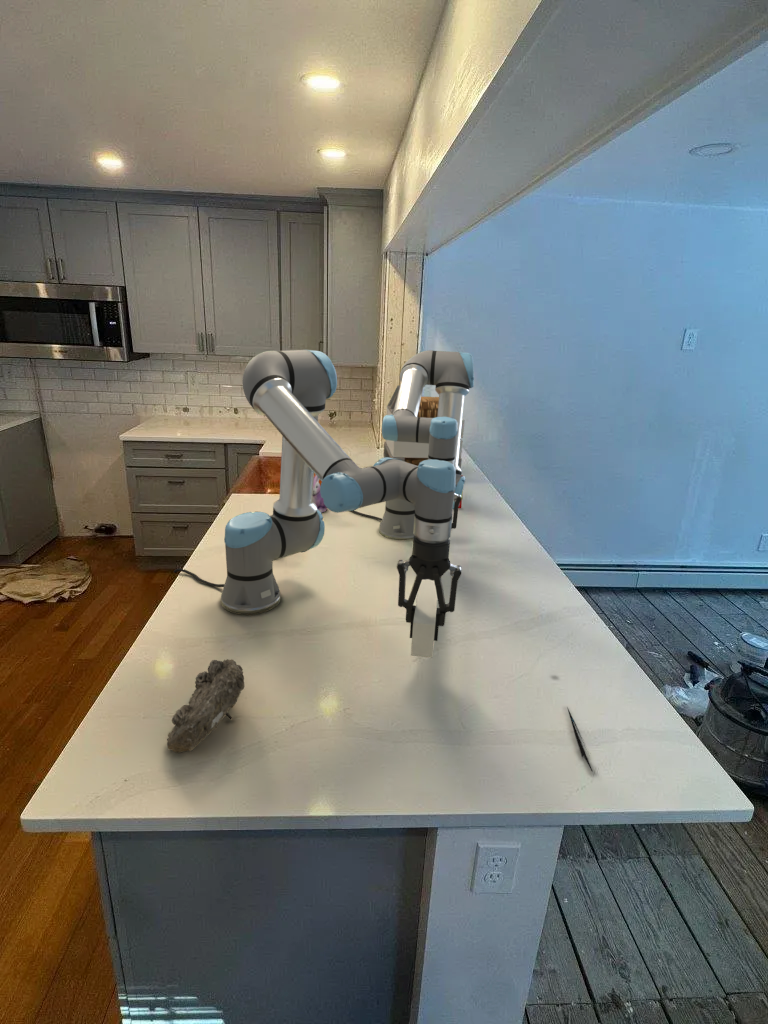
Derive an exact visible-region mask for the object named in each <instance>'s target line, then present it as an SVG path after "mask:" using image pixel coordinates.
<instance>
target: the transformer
mask: <svg viewBox="0 0 768 1024" xmlns="http://www.w3.org/2000/svg"><path fill="white" fill-rule="evenodd" d="M399 388H400V384H398V385H397V386H396V388H395V390H394V392H393V394H392V395H391V398H390V400H389V402H388V404H387V405H386V413H385V414H386V415H392V414H393V410H394V407H395V403H396V399H397V395H398V392H399ZM438 403H439V396H421V400H420V405H419V410H418V415H417V417H424V418H436V417H437V414H438ZM386 415H385V416H386ZM464 429H465V419H464V418H462V426H461V437H460V448H459V459H458V467H459V468H460V469H461V470H462V461H463V460H462V453H463V442H464V441H463V440H462V439H463V438H464V431H465V430H464ZM428 454H429V444H428V443H417V442H400V441H396V442H395V441H391V440H385V439H384V442H383V458H384V457H389V458H396V459H399V460H402V461H404V462H407V463H410V464H413V465H416V466H418V465H419V463H420V462H422V461H424V460H428Z"/></svg>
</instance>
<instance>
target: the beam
mask: <svg viewBox="0 0 768 1024" xmlns="http://www.w3.org/2000/svg"><path fill="white" fill-rule="evenodd" d="M415 601H416V602H415V606H416V608H415V614H414V620H413V632H412V638H411V647H410V657H411V656H412V657H418V658H419V657H421V658H429V659H433V657H434V644H435V641H434V634H435V622H436V610H437V608H438V598H437V593H436V587H435V583H434V581H432V580H429V579H426V580H422V581H421V584H420V587H419V590H418V593H417V595H416V600H415Z"/></svg>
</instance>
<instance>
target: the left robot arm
mask: <svg viewBox="0 0 768 1024" xmlns="http://www.w3.org/2000/svg"><path fill="white" fill-rule="evenodd" d="M241 383H242V390H243V393H244V396H245V399H246V400H247V402H248V404H249V405H250V406H251V408H252V409H253V410H254V412H256V413H257V414H258V415H259V416H263V417H266V418H267V419H268V420H269V422H270V424H272V425H273V426H274V428H275V429H276V430H277V431H278V432H279V434H281V437H282V438H281V440H282V441H281V456H280V457H281V459H280V476H279V477H280V478H279V479H280V480H279V498H278V500H276V501H275V502H273V506H272V514H269V513H268V512H264V511H254V512H252V511H248V512H243V513H240V514H238V515H235V516H233V517H232V518H231V519H229V520H228V522H227V523H226V525H225V527H224V540H223V541H224V547H225V561H226V578H225V581H224V583H213V582H210V581H207V580H205V579H202V578H201V577H200V576H199V575H197V574H196V573H193V572H191V571H190V570H187V569H184V568H181V567H180V568H179V567H178V568H176V569H175V570H173V573H175V574H177V573H178V572H183V573H185V574H186V575H188V576H189V575H190V576H191V577H193V578H194V579H195V580H196V581H198V582H200V583H202V584H204V585H207V586H211V587H214V588H223V589H222V592H221V594H220V603H221V606H222V607H223V609H224V610H226V611H227V612H230V613H232V614H237V615H243V616H246V615H257V614H262V613H265V612H269V611H270V610H274V608H276V607H277V606H278V605H279V604H280V602H281V589H280V587H279V585H278V582H277V580H276V577H275V574H274V572H273V570H274V567H273V566H274V565H273V564H274V563H273V562H274V561H275V560H276V561H277V560H279V559H283V558H286V557H290V556H292V555H295V554H300V553H306V552H308V551H309V550H311V549H314V548H316V547H318V546H319V545H320V544H321V542H322V541H323V539H324V536H325V531H326V529H325V528H326V525H325V521H324V520H323V519H324V517H323V514H322V513H321V512H320V511H319V510H318V509H317V506H316V504H315V503H314V502H313V501H312V494H313V481H314V477H315V476H317V477H318V478H319V481H320V482H321V483H320V486H321V487H320V493H321V497H322V498H323V500H324V504H325V506H326V507H327V510H329V511H330V512H332V513H346V512H351V511H353V510H354V511H356V510H358V509H361V508H365V507H368V506H372V505H376V504H381V503H386V501H389V500H393V499H397V498H399V499H403V500H405V501H408V502H411V503H414V504H415V518H414V535H415V536H414V537H413V539H412V551H411V556H410V557H409V558H408V559H407V560H403V559H399V560H398V562H397V564H396V569H397V572H398V576H399V577H398V595H397V596H398V597H397V606H398V607H399V608H404V609H405V622H406V623H408V624H410V628H409V639H412V632H413V620H414V614H415V608H416V604H415V601H416V599H417V595H418V590H419V587H420V584H421V581H422V580H426V579H429V580H432V581H434V583H435V587H436V593H437V605H438V607H437V610H436V622H435V634H434V642H438V638H439V630H440V629H439V627H444V626H445V623H446V614H447V613H454V612H455V609H456V608H455V607H456V600H457V591H458V581H459V579H460V577H461V576H462V571H463V570H462V568H463V567H462V566H461V565H460V564H457V565H454V564H452V563H451V560H450V558H449V557H450V549H451V548H450V545H451V539H450V538H451V536H452V529H451V526H452V523H453V510H454V509H453V502H454V494H455V488H456V469H455V467H454V465H453V464H451V463H450V462H447V461H441V460H434V459H432V460H424V461H422V462H420V463H419V465H418V466H416V465H413V464H410V463H407V462H404V461H402V460H399V459H396V458H389V457H384V456H383V457H381V458H379V459H378V460H377V461H376V462H375V463H374V464H372V466H367V467H359V465H358V464H357V463H356V462H355V461H354V460H353V459H352V458H351V457H350V456H349V455H348V454H347V452H346V451H345V450H344V449H343V448H342V447H341V446H340V445H339V444H338V443H337V441H336V440H335V439H334V438H333V437H332V436H331V435H330V434H329V432H327V431H326V429H325V428H324V427H323V426H322V425H321V424H320V423H319V416H320V414H321V413H323V412H324V411H325V410H326V400H327V399H328V400H329V399H330V398H332V397H333V396H334V394H335V393H336V390H337V387H338V376H337V371H336V368H335V365H334V364H333V362H332V360H331V358H330V357H329V356H328V355H327V354H326V353H324V352H322V351H320V350H312V349H295V350H294V349H291V350H266V351H263V352H260V353H258V354H256V355H254V356H253V357H252V358H251V359H250V360H249V362H248V363H247V365H246V366H245V369H244V371H243V374H242V381H241ZM409 567H411V569H412V570H413V572H414V574H415V578H414V582H413V584H412V587H411V590H410V593H409V597H408V599H407V598H406V586H407V583H406V582H407V572H408V571H409ZM183 569H184V570H183ZM448 570H449V575H450V577H451V581H450V591H449V599H448V603H446V598H445V593H444V586H443V579H442V577H443V576H444V575H445V574H446V572H448ZM414 604H415V605H414Z"/></svg>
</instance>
